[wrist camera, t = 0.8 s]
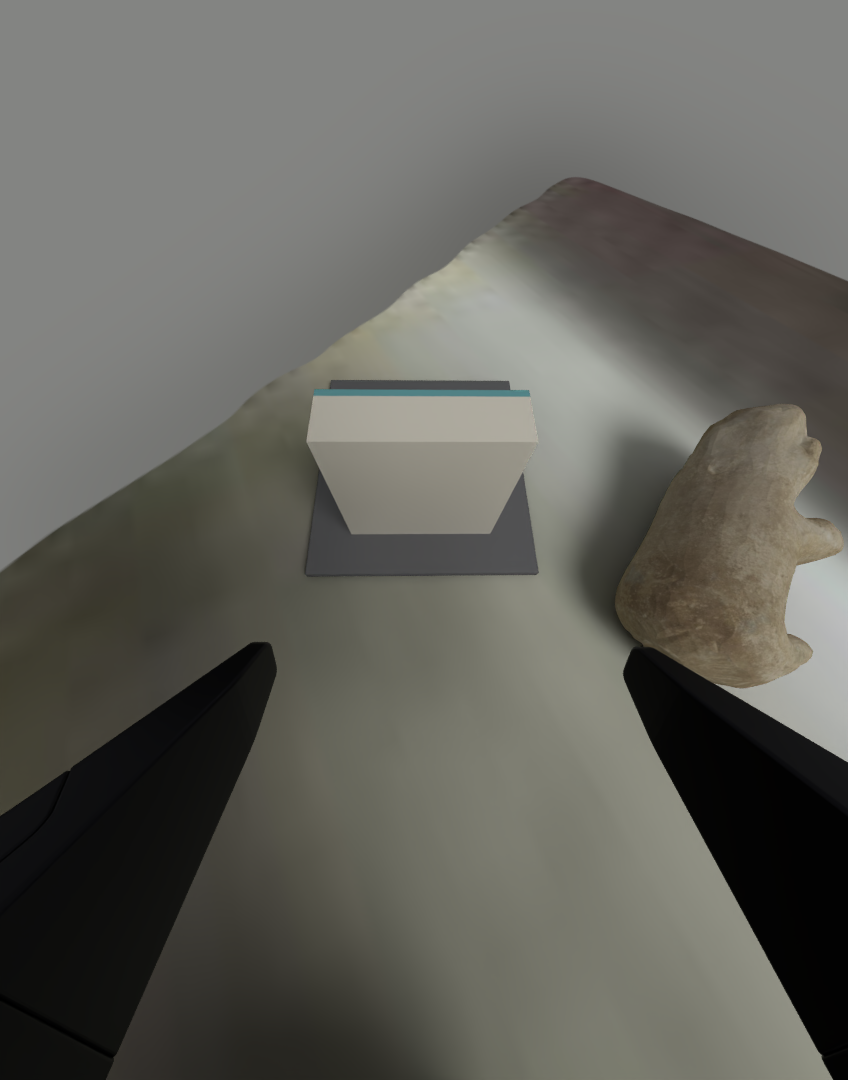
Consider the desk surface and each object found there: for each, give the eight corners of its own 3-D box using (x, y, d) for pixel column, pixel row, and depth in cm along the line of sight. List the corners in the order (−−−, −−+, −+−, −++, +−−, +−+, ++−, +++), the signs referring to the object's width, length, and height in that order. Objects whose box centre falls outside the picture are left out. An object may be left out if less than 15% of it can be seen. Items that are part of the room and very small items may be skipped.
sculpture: (851, 507, 22) (890, 364, 16) (795, 745, 16) (827, 643, 11) (689, 500, 28) (680, 397, 23) (609, 664, 23) (572, 578, 17)
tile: (490, 533, 23) (538, 441, 14) (351, 534, 23) (306, 441, 14) (486, 497, 24) (528, 390, 15) (354, 497, 24) (314, 389, 15)
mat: (536, 574, 22) (538, 572, 22) (307, 576, 22) (305, 574, 22) (507, 385, 29) (508, 381, 29) (332, 384, 29) (331, 380, 29)
